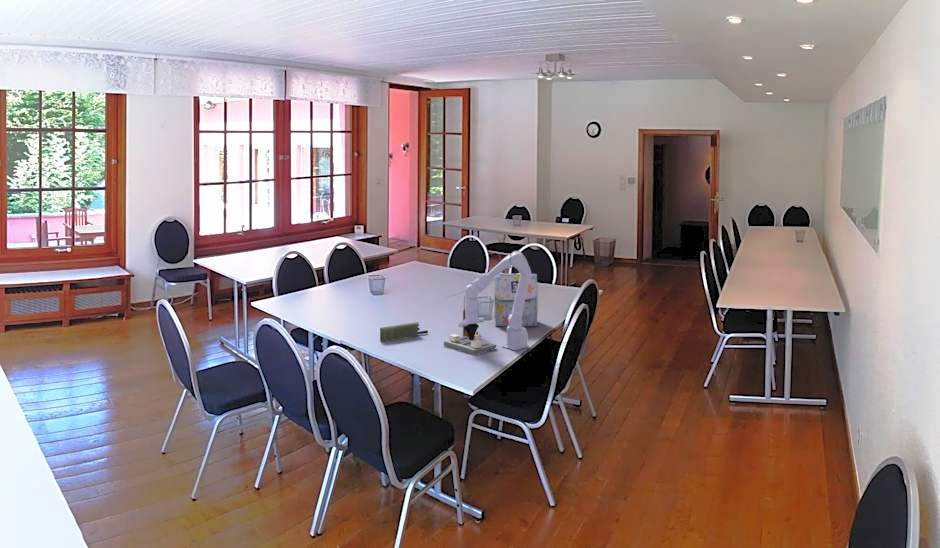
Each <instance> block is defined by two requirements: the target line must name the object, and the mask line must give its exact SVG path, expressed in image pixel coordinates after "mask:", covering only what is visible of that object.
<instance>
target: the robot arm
mask: <svg viewBox="0 0 940 548" xmlns="http://www.w3.org/2000/svg"><path fill="white" fill-rule="evenodd" d="M512 268H515V269H516V270H517V271H518V273H520V279H519V283H518V287H517V292H516V296H515V300H514V305H513V308H512V311H511V313H510V314H509V316H508V324H509V326H506V345H505V344H504V345H503V346H502V347H503V348H505V349H508V348H509V350H511V351H518V350H522V349H525V348H528V347H529V346H530V345H528V330H527V329H526V327H525V326H522V313H523V307H524V303H525V299H526V294H527V290H528V286H529V281H530V277H531V274H532V269H531V267H530V265H529V262H528V260H527V258H526V256H525V255H524V254H523V252H521V251H519V250H513V252H511V253H510V254H507V255H506V256H505V257H504V258H503V259H501V261H499V262H498V263H497V264H496V265H495V266H494V267H493V268H492V269H491V270H490V271H489V272H487V273H485V272H484V273H482V274H481V273H480V274H478V277H477V278H475V280H473V281H470V283H469V284H468V285H467V286H466V287H465V289H464V291H465V292H464V293H465V296H466V297H465V301H464V306H465V319H464V321H463V320H462V321H460V322H458V327H459V328H461V329H463V327H465V329H466V330H467V333H468V337H469V340H474V336H475V335H476V333H477V330H478V329H479V327H480V326H479V324H480V323H485V317H478V316H479V300H478V296H479V293H481V292H483V291H484V290H486V288H487V287H488V286H490V285H491V284H492V281H493V279H494V278H495V276H496V275H500V273H502V272H503V271H504V270H505V269H512ZM478 323H479V324H478Z"/></svg>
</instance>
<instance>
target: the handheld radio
mask: <svg viewBox="0 0 940 548" xmlns="http://www.w3.org/2000/svg"><path fill="white" fill-rule="evenodd" d="M419 326H420V322H419V321H417V322H416V321H415V322H409V323H402V324H398V325H397V324H396V325H389V326H383V327H380V328H379V337H380V338H379V340H381V341H380V342H387V341H386V340H389V341H393V340H392V339H395V340H399V339H398V338H402V339H406V338H405V337H408V338H413V337H412V336H414V337H418V336H419V335H423V334H428V333H429V331H428V330H422V331H421V330H420V327H419Z"/></svg>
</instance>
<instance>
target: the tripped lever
mask: <svg viewBox="0 0 940 548" xmlns="http://www.w3.org/2000/svg"><path fill="white" fill-rule="evenodd" d="M479 335H480V334H478V335H476V334H475V336H474V340H477V341H480V340H481V336H479ZM474 340H470V341H474Z"/></svg>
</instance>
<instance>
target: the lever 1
mask: <svg viewBox="0 0 940 548" xmlns="http://www.w3.org/2000/svg"><path fill="white" fill-rule="evenodd" d="M460 336H461V335H459V334H456V333H453V334H449V340H450V341H453V342H457V341H460Z"/></svg>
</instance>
